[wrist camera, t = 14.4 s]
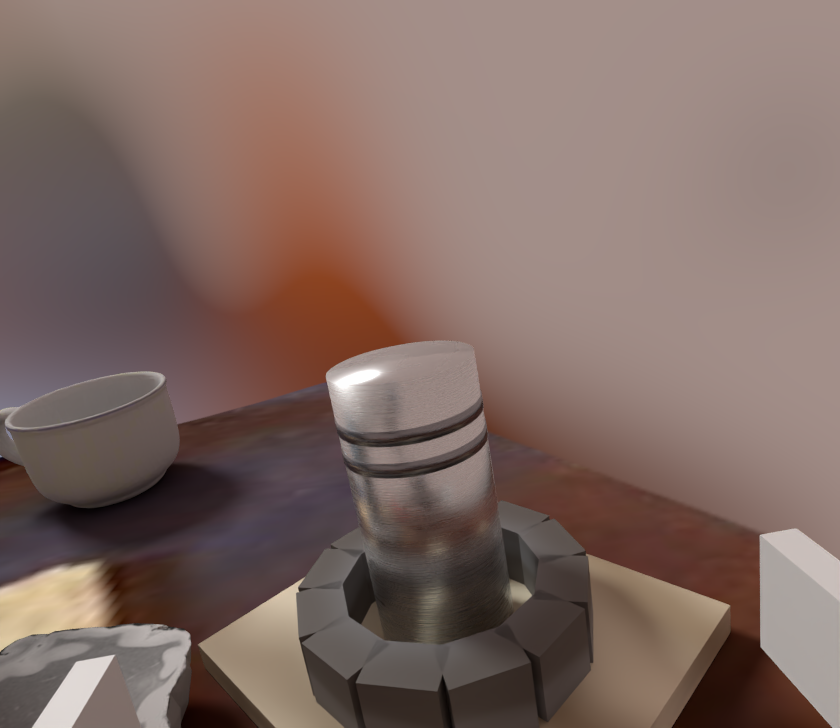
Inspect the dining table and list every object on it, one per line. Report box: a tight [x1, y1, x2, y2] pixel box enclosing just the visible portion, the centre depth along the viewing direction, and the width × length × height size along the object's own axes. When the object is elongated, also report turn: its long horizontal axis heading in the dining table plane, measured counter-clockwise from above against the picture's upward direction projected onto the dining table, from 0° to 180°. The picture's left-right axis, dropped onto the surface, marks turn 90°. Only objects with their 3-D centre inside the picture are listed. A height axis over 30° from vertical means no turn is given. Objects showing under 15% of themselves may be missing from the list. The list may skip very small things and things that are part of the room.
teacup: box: [0, 372, 179, 508], centre depth 44 cm, size 14×11×8 cm
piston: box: [326, 341, 514, 645], centre depth 21 cm, size 5×5×11 cm
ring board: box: [198, 500, 731, 728], centre depth 23 cm, size 14×16×4 cm
